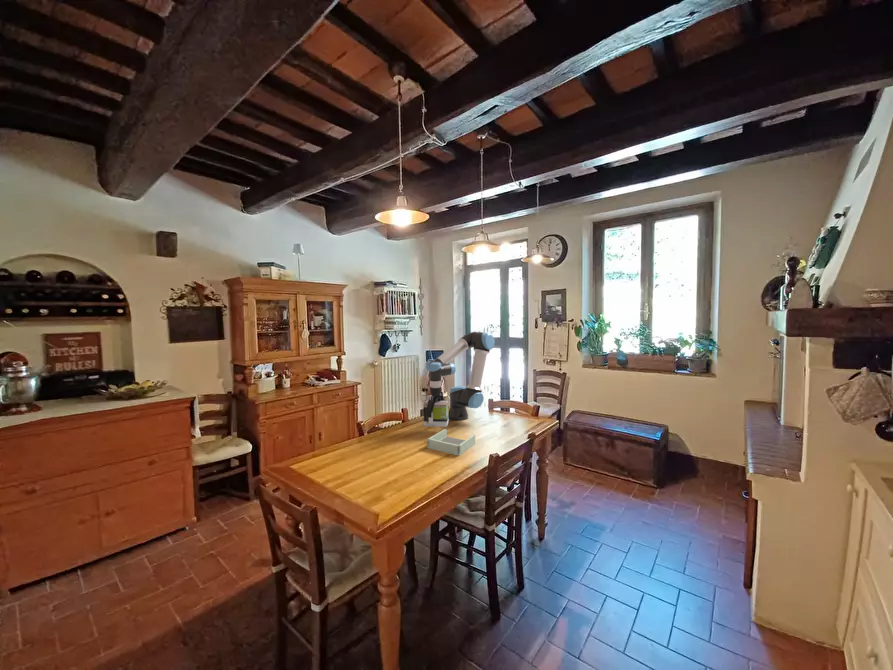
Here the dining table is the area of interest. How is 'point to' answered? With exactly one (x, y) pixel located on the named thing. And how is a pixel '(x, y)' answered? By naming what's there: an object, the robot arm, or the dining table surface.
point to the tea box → (437, 414)
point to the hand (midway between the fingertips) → (436, 419)
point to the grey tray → (450, 443)
